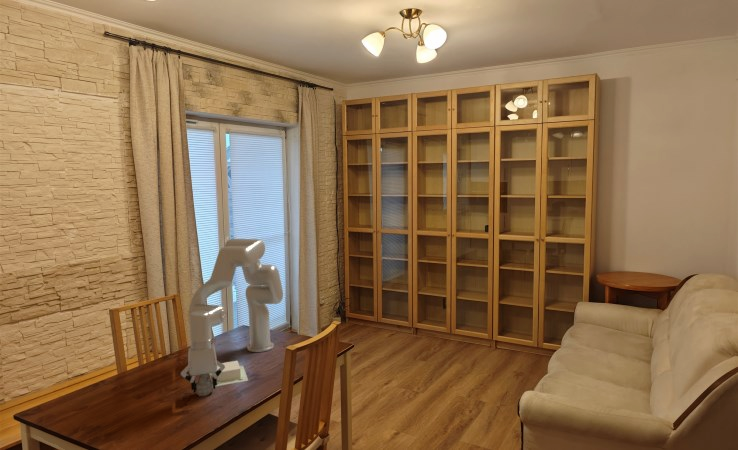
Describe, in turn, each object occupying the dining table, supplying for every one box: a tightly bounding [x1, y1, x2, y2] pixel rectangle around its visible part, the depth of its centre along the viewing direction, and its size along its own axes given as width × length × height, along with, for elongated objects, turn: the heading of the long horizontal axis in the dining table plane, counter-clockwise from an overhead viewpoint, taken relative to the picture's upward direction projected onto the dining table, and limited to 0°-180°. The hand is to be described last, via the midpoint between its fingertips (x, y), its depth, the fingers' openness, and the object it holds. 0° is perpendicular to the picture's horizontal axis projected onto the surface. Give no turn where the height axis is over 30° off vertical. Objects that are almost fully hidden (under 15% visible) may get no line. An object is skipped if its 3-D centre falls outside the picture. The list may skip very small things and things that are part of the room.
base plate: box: [209, 365, 249, 387], centre depth 195 cm, size 16×14×2 cm
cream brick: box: [217, 360, 241, 382], centre depth 195 cm, size 9×9×4 cm
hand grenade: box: [195, 373, 214, 397], centre depth 179 cm, size 6×6×11 cm
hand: (204, 388), depth 180 cm, fingers closed on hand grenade, 6 cm apart
